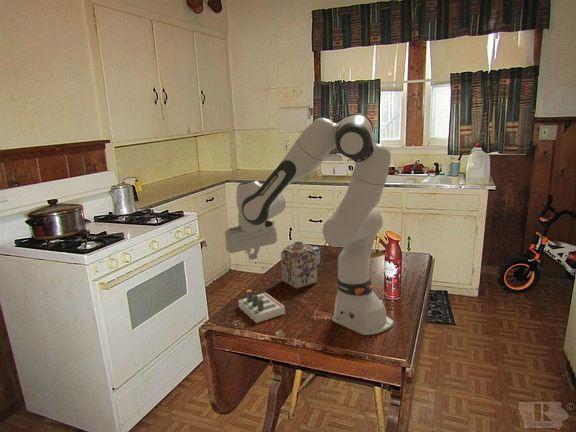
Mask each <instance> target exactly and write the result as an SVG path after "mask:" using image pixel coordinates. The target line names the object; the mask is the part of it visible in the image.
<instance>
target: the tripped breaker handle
mask: <svg viewBox="0 0 576 432" xmlns="http://www.w3.org/2000/svg"><path fill="white" fill-rule="evenodd" d="M245 292H246V298H247V300H248V301H252V295H253V291H252V289H247V290H246V291H245Z"/></svg>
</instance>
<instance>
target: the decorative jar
mask: <svg viewBox="0 0 576 432" xmlns="http://www.w3.org/2000/svg"><path fill="white" fill-rule="evenodd" d="M312 247H313V246H312V245H309V244H306V243H304V242H303V241H294V242H293V243H292V244H290V245H287V246H286V247H285V248H284V249H283V250H282V251H281V253H280V263H281V277H282V278H281V279H282V281H283V282H284V283H285V284H288V285H289V286H291V287H292V288H294V289H299V288H303V287H307V286H310V285H313V284H316V283H318V266H317V257H316V253H315V251H314V249H313V248H312Z"/></svg>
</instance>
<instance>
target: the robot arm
mask: <svg viewBox="0 0 576 432" xmlns="http://www.w3.org/2000/svg"><path fill="white" fill-rule="evenodd" d="M373 132H374V126H373V123H372V121H371V119H370V118H369V117H368V116H367V115H365V114H364V113H360V112H355V113H354V112H353V113H350V114H348V115H346V116H344V117H341V118H339V119H337V120H336V121H335V122H333V121H332V120H330V119H329V118H325V117H318V118H316V119H315V120H314V121H312V122H310V124H309V125H308V126H307V127H306V128H305V129H304V130H303V132H301V134H300V135H299V136H298V138H297V139H296V140H295V142H294V143H293V145H292V146H291V148H290V149H289V150H288V152H287V153H286V155H285V156H284V158H283V159H282V160H281V161H280V163H279V165H277V166H276V168H275V169H274V170H273V171H272V173H271V174H270V175H269V177H267V179H266V180H265V181H264V182H263V184H261V183H260V182H259V181H258V180H255V179H254V180H253V179H252V180H247V181H243V182H240V183H238V185H237V186H236V194H235V195H236V197H235V198H236V207H237V210H238V212H237V220H238V221H237V222H238V223H237V225H238V226H234V227H229V228H227V230H225V232H224V237H225V238H224V239H225V250H226V251H227V252H228V253H229V254H234V253H240V252H244V251H245V252H246V254H247V255H248V260H249V261H253V260H257V259H258V254H259V252H260V248H261V247H265V246H269V245H273V244H276V243H277V242H278V236H277V229H276V227H275V221H274V220H273V219H272V218H274V217H276V216H278V215H280V214H281V213H282V212H284V209H285V207H286V200H285V197H284V196H283V191H284V190H285V189H286V188H287V187H288V186H289V185H291V184H292V183H294V182H295V181H297V180H299V179H302V178H303V177H305V176H308V175H310V174H311V173H313V172H314V171H315V170H316V169H317V168H318V167H319V166H321V164H322V163H323V162H324V160H325V159H326V158H327V156H328V155H329V154H330V153H331V152H332V151H333V150H334V149H337V150H338V152H339V153H340V154H341V155H342V156H344V157H345V158H348V159H349V160H352V161H354V162H355V163H354V167H353V171H352V174H351V177H350V181H349V184H348V187H347V190H346V193H345V194H344V196H343V198H342V200H341V202H340V203H339V205H338V206H337V208H336V210H335V211H334V213H333V214H332V215H331V216H330V217H329V219H327V220H326V221H325V222H324V224H323V226H322V236H323V239H324V240H325V242H326V244H328V246H330V247H332V248H341V247H343V249H342V250H341V252H340V253H339V254H338V257H337V278H336V289H337V292H336V296H335V302H334V311H333V316H332V318H331V321H332V322H334V323H336V324H338V325H340V326H343V327H344V328H347V329H349V330H352V331H354V332H356V333H358V334H360V335H362V336H371V335H377V334H380V333H382V332H384V331H385V332H386V331H387V330H389V329H391V328H392V326H393V325H394V320H393V319H391V318H390V317H389V316H387V309H386V306H385V305H384V301H383V300H382V299H380V298H379V297H378V296H377V294H376V293H375V292H374V291H373V290H374V289H373V288H375V284H372V281H371V278H370V259H371V254H372V250H373V247H374V244H375V240H376V238H377V236H378V234H379V232H380V231H381V230H382V227H383V223H384V222H383V217H382V214H381V213H380V212H379V211H378V210H377V209H376V208H375V207H377V206H378V204H379V202H380V199H381V196H382V195H383V191H384V188H385V184H386V183H387V179H388V176H389V171H390V168H391V167H390V166H391V161H392V160H391V159H392V155H391V152H390V150H389V148H388V147H386V146H385V145H383V144H380V143H377V142H376V141H375V140H374V134H373ZM251 249H254V251H253V253H251V252H252V250H251Z"/></svg>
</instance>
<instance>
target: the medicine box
mask: <svg viewBox="0 0 576 432" xmlns="http://www.w3.org/2000/svg"><path fill="white" fill-rule="evenodd" d="M311 247H312V248H313V249H314V251H315V253H316V257H317V267H318V266H321V249H320V247H318V246H311Z"/></svg>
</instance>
